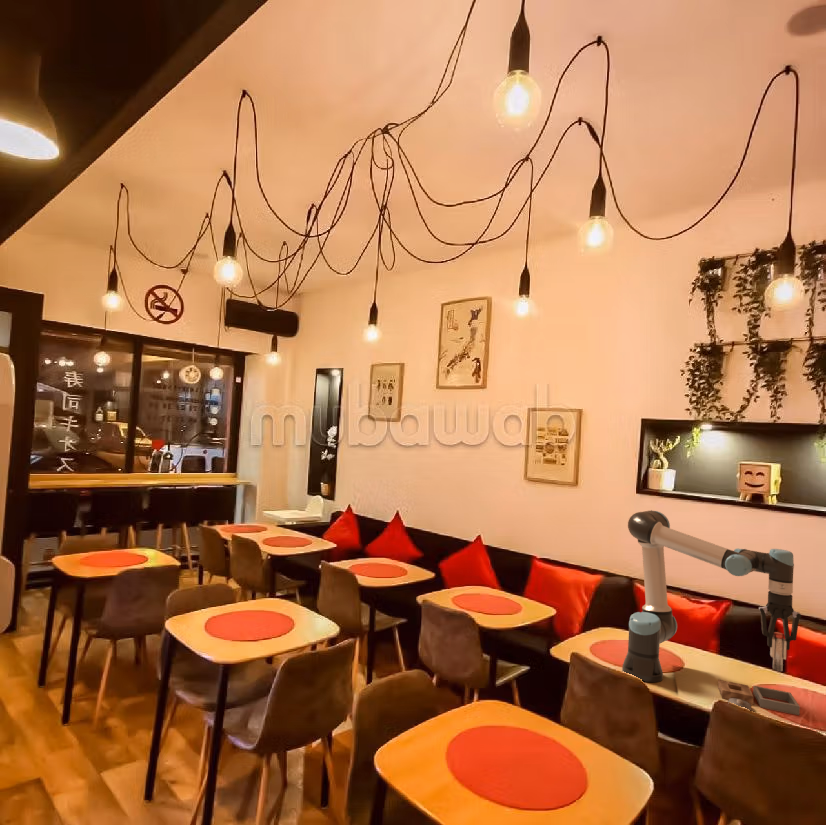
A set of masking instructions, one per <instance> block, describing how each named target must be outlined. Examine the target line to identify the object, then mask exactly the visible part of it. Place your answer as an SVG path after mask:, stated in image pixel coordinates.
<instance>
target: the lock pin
mask: <svg viewBox="0 0 826 825" xmlns="http://www.w3.org/2000/svg"><path fill="white" fill-rule="evenodd" d="M773 638H774V639H775V651H774V657H772V670H775V671H777V672H783V670H784V669H783V666H784V664H783V663H784V659H783V641H784V639H785V636H784V633H782V632H779V631H774V633H773Z"/></svg>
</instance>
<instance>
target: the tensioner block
mask: <svg viewBox="0 0 826 825" xmlns="http://www.w3.org/2000/svg"><path fill="white" fill-rule="evenodd" d="M717 688H718V689H717V690H718V691H719V695H720V697H721V699H723V700H727V701H728V703H729V702H731V703H734V704H736V705H738V706H741V707H745V708H747V709H749V710H751V711H752V705H754V698H755V696H754V694H753V691H751V688H750V686H749V685H748V684H743V683H738V682H732V681H728V680H723V679H718V681H717Z"/></svg>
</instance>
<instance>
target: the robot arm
mask: <svg viewBox="0 0 826 825" xmlns="http://www.w3.org/2000/svg"><path fill="white" fill-rule="evenodd" d="M627 528H628V532H629V534H630V535H631V536H632V537H633V538H635V539H636V540H637V543H638V544H639V545H640V546H641V552H642V553H641V554H642V567H643V568H642V569H643V570H642V571H643V581H644V583H643V584H644V596H645V597H644V598H645V604H644V605H642V607H641V609H642V611H641V612H640V611H637V612H634V613H633V614H631V615H630V617H629V621H628V643H627V653H626V655H625V658H624V659H623V660H624V661H623V663H622V668H621V669H622V672H623V671H624V672H626V673H629V674H632V675H634V676H636V677H638V678H640V679H642V680H644V681H645V683H659V682H661V681H662V680H664V677H663V676H664V671H663V668H662V665H661V661H660V646H661V643H664V642H667V641H669V640H671V638H673V637H674V636H675V634H676V633H677V630H678V622H677V620H676V618H675V616H674V615H673V609H672V607H671V606H669V604H668V592H667V591H668V589H667V578H666V565H665V564H666V562H665V550H664V547H665V548H667V549H671V550H673V551H676V552H678V553H681V554H683V555H686V556H689V557H691V558H694V559H697V560H698V561H699V560H700V561H702V562H704V563H708V564H709V565H713V566H716V567H718V568H720V569H723V570H726V571H727V572H728V573H729V574H730V575H732V576H735V577H744V576H747V575H749V574H750V573H753V572H755V573H756V572H757V573H763V574H768V588H767V589H768V590H769V591H767V603H766V605H765V606H758V610H759V613H760V623H761V633H762V635H763V636H764V637H767V638H766V639H767V641H766V642H767V643H766V644H767V646H768V647H769V650H770V651H769V655H770V657H771V658H773V657H774V651H775V639H774V632H775V629H776V623H777V620H778V619H781V620H782V626H783V628H782V630H783V634H784V641H783V660H785V661H786V660H787V651H790V647H791V646H790V645H791V642H792V641H796V640H797V634H798V629H799V628H798V627H799V623H800V622H799V621H800V620H801V618H802V614H801V613H800V612H797V611H795V610H794V608H793V592H794V591H793V590H794V586H793V585H794V584H793V583H794V568H795V563H794V553H793V552H792V551H791V550H790V551H789V550H787V549H781V548H780V549H779V548H770V549H769V552H761V551H756V550H750V549H747V548H735V549H734V550H732V549H729V548H727V547H724V546H722V545H721V546H720V545H718V544H715V543H712V542H710V541H707V540H704V539H701V538H698V537H695V536H693V535H689V534H688V533H687V534H686V533H684V532H682V531H679V530H676V529H673V528H671V525H670V521H669V518H668V517H667V516H666V515H665V513H663V512H661V511H658V510H652V509H651V510H646V511H638V512H635V513H633V514H632V515H631V516H630V517H629V518H628V521H627ZM767 611H768V612H769V613H770V620H769V626H768V627H767V615H766V614H767ZM791 615H792V624H791V629H790V628H789V617H790V616H791ZM767 628H768V629H767ZM790 630H791V631H790ZM644 681H643V682H644Z"/></svg>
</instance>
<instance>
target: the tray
mask: <svg viewBox="0 0 826 825" xmlns="http://www.w3.org/2000/svg"><path fill="white" fill-rule="evenodd" d="M752 690H753V691H752V694H753V696H754V699H755V700H756V701H757V704H758V706H759V708H760V709H761V708H763V709H767V710H771V711H777V712H780V713H781V712H782V713H786V714H790V715H796V716H800V711H801V710H800V709H801V706H800V704H799V703H798V702H797V700H796V699H795V697H794V696H793V694H792V692H788V691H785V690H784V691H783V690H778V689H774V688H769V687H763V686H758V685H753V689H752ZM768 698H769V699H768ZM778 700H779V701H778Z"/></svg>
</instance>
